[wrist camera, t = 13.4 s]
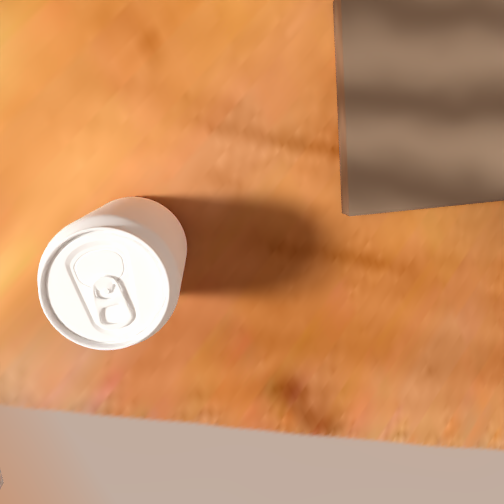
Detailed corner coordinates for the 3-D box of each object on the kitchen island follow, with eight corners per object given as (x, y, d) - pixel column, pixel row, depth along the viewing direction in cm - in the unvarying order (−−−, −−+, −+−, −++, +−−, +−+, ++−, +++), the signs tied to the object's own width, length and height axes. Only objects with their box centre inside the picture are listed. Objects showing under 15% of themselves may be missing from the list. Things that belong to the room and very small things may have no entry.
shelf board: (332, 1, 34) (345, -13, 31) (606, -17, 36) (644, -32, 33) (342, 212, 38) (354, 218, 35) (590, 187, 40) (622, 190, 36)
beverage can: (172, 185, 36) (157, 202, 25) (198, 280, 38) (194, 339, 26) (71, 208, 36) (6, 237, 24) (102, 304, 38) (55, 373, 26)
